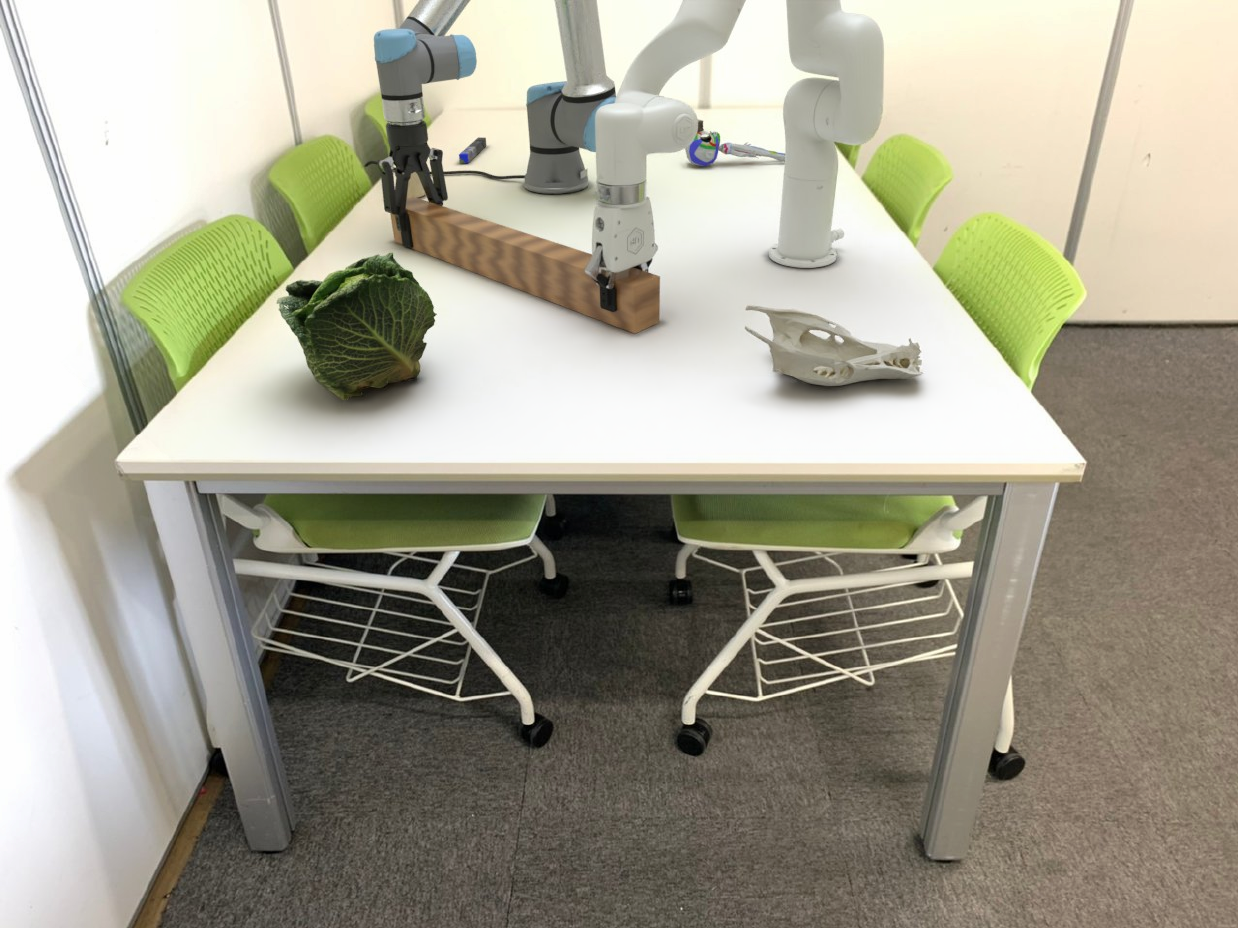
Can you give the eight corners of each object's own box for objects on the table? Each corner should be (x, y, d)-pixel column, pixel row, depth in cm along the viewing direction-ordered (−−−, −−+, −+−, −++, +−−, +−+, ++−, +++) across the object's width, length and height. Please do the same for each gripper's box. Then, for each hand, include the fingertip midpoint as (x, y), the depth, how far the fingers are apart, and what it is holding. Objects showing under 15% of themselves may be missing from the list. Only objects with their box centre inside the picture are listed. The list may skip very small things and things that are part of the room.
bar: (394, 242, 182) (388, 203, 177) (418, 235, 185) (413, 196, 181) (634, 334, 142) (634, 286, 137) (659, 322, 145) (660, 276, 141)
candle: (429, 193, 211) (424, 149, 206) (417, 199, 207) (411, 154, 201) (409, 191, 213) (403, 147, 207) (396, 197, 208) (390, 153, 203)
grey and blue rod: (485, 137, 250) (466, 155, 233) (486, 145, 251) (467, 163, 234) (478, 137, 250) (458, 155, 233) (478, 145, 251) (459, 163, 234)
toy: (809, 146, 225) (693, 132, 220) (801, 180, 229) (687, 167, 224) (798, 137, 233) (686, 124, 229) (791, 170, 238) (681, 158, 233)
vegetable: (353, 408, 136) (266, 297, 128) (458, 337, 138) (379, 222, 130) (352, 443, 118) (251, 316, 110) (474, 360, 119) (382, 229, 111)
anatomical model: (746, 295, 131) (922, 298, 128) (744, 352, 136) (913, 356, 133) (742, 338, 119) (937, 342, 115) (741, 399, 124) (927, 405, 120)
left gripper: (373, 133, 160) (392, 258, 172) (458, 116, 171) (471, 235, 183) (350, 127, 164) (371, 249, 176) (435, 111, 175) (449, 227, 188)
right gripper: (598, 209, 128) (601, 326, 138) (677, 184, 138) (675, 295, 148) (562, 199, 133) (568, 313, 142) (642, 176, 143) (642, 283, 153)
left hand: (421, 242), depth 180 cm, fingers closed on bar, 6 cm apart
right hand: (623, 302), depth 145 cm, fingers closed on bar, 6 cm apart
